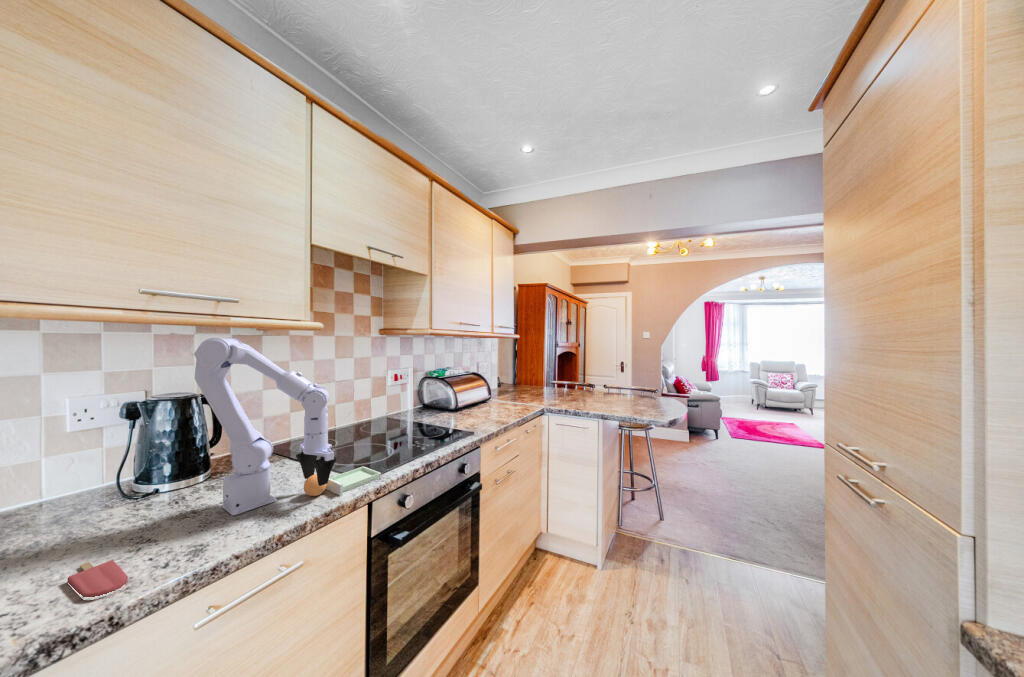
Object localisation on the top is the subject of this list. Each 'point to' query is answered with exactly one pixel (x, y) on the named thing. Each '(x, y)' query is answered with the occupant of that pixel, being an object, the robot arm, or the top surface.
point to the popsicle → (98, 579)
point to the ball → (313, 486)
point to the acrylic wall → (334, 487)
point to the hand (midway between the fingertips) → (315, 481)
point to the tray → (356, 477)
